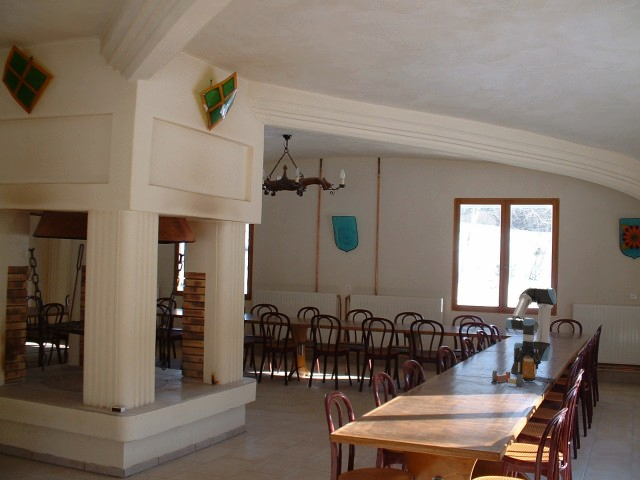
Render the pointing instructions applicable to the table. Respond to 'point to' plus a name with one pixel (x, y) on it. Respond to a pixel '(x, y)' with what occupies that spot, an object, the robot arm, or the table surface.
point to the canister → (527, 367)
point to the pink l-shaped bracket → (503, 377)
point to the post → (494, 376)
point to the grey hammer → (517, 380)
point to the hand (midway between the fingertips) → (527, 373)
